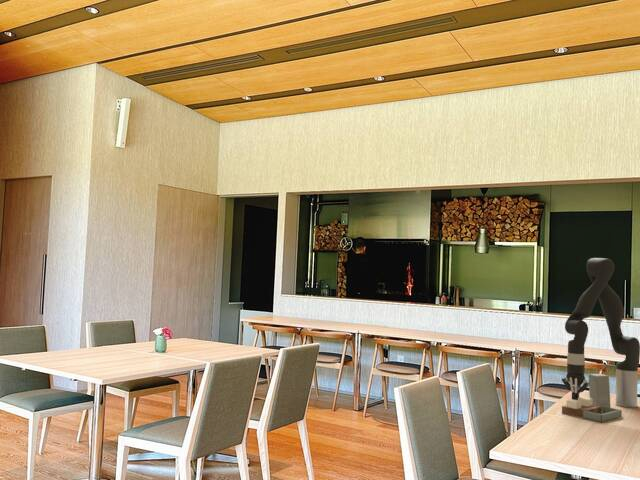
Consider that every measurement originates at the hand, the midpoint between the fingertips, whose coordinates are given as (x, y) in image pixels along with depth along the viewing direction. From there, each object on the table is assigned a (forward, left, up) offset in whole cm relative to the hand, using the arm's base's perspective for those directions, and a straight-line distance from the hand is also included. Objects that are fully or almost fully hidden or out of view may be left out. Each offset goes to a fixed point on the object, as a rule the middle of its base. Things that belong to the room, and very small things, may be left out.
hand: (575, 400), depth 276 cm
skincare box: (-13, +5, -4) cm, 14 cm away
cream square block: (+10, +5, -1) cm, 11 cm away
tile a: (0, +5, -1) cm, 5 cm away
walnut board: (+5, +6, -4) cm, 9 cm away
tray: (+5, +15, -4) cm, 17 cm away
